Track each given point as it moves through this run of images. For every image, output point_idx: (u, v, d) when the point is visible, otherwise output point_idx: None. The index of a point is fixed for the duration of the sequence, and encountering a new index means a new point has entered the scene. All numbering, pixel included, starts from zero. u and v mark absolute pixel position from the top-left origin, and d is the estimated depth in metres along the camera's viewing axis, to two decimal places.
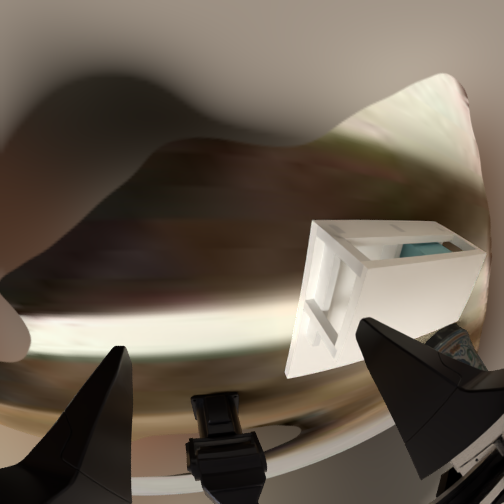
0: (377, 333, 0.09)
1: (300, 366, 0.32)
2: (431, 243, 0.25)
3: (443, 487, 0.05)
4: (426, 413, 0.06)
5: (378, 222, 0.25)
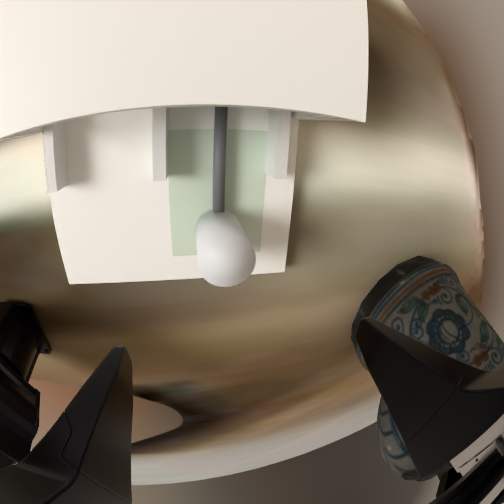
0: (377, 333, 0.09)
1: (77, 259, 0.18)
2: None
3: (443, 487, 0.05)
4: (426, 413, 0.06)
5: None
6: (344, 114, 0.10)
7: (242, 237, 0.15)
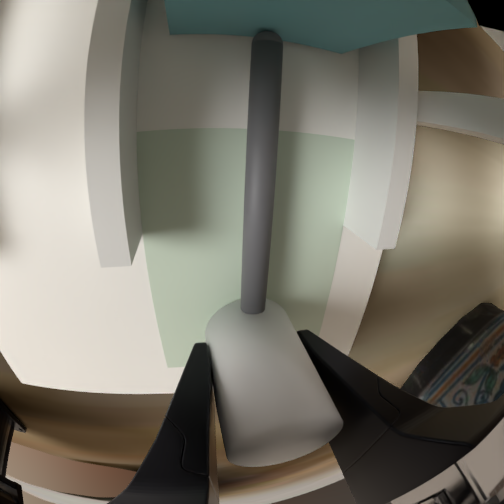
0: (309, 349, 0.08)
1: (21, 358, 0.08)
2: None
3: None
4: (361, 446, 0.06)
5: None
6: None
7: (326, 410, 0.05)
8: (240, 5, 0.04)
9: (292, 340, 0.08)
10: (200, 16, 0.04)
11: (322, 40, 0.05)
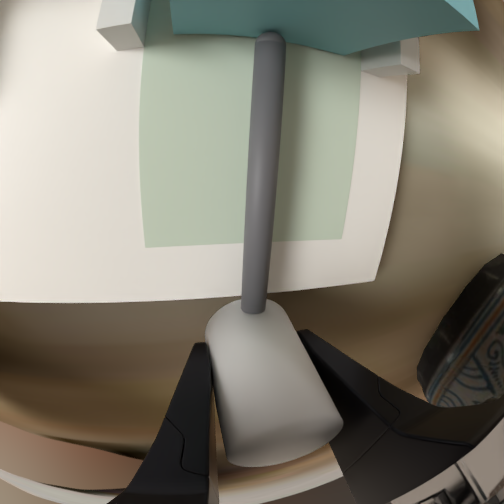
0: (309, 349, 0.08)
1: None
2: None
3: None
4: (361, 445, 0.06)
5: None
6: None
7: (326, 410, 0.05)
8: (245, 6, 0.04)
9: (292, 340, 0.08)
10: (204, 16, 0.04)
11: (325, 41, 0.05)
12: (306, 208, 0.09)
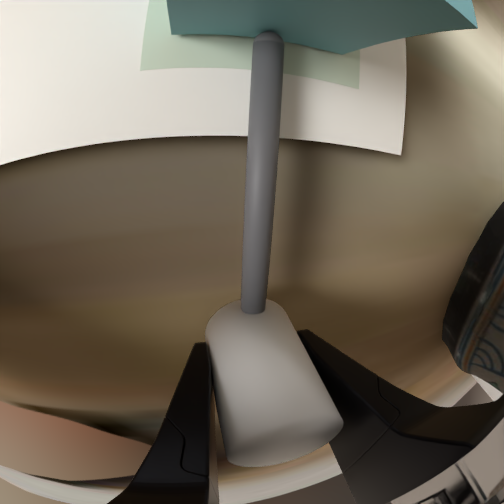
0: (309, 349, 0.08)
1: None
2: None
3: None
4: (362, 446, 0.06)
5: None
6: None
7: (326, 410, 0.05)
8: (242, 5, 0.04)
9: (292, 340, 0.08)
10: (202, 16, 0.04)
11: (323, 41, 0.05)
12: None
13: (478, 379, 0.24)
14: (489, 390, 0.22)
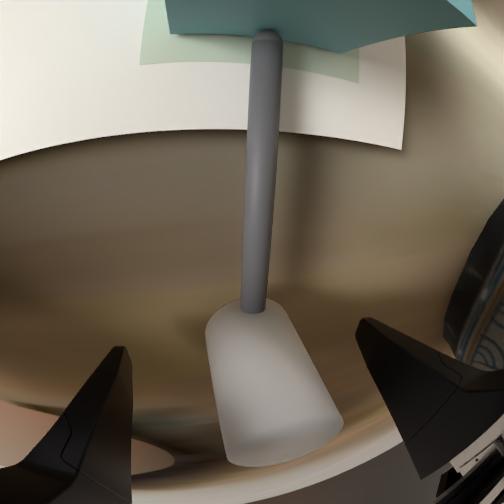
0: (377, 333, 0.09)
1: None
2: None
3: (443, 487, 0.05)
4: (427, 412, 0.06)
5: None
6: None
7: (326, 410, 0.05)
8: (240, 4, 0.04)
9: (292, 340, 0.08)
10: (200, 15, 0.04)
11: (322, 39, 0.05)
12: None
13: None
14: None
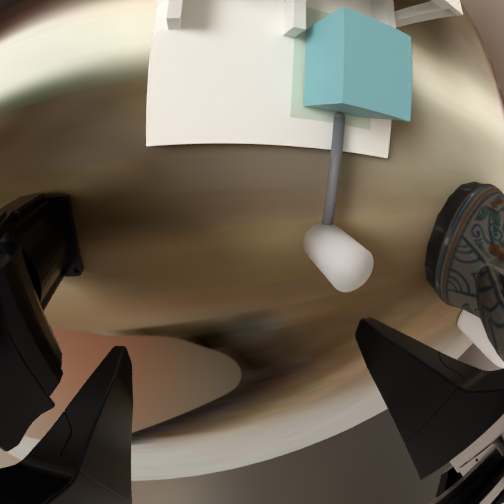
0: (377, 333, 0.09)
1: (169, 111, 0.14)
2: None
3: (443, 487, 0.05)
4: (426, 413, 0.06)
5: None
6: (452, 4, 0.07)
7: None
8: (338, 108, 0.14)
9: (347, 234, 0.18)
10: (322, 107, 0.15)
11: (358, 115, 0.16)
12: None
13: (465, 330, 0.35)
14: (474, 338, 0.32)
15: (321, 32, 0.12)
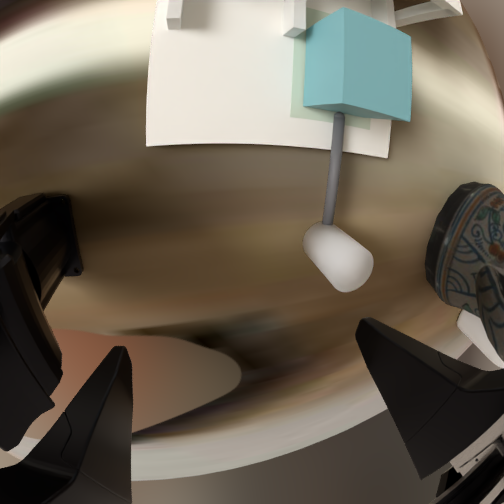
0: (377, 333, 0.09)
1: (169, 111, 0.14)
2: None
3: (443, 487, 0.05)
4: (426, 413, 0.06)
5: None
6: (452, 4, 0.07)
7: (366, 249, 0.16)
8: (338, 108, 0.14)
9: (347, 234, 0.18)
10: (322, 107, 0.15)
11: (358, 115, 0.16)
12: None
13: (464, 330, 0.35)
14: (474, 338, 0.32)
15: (321, 32, 0.12)
